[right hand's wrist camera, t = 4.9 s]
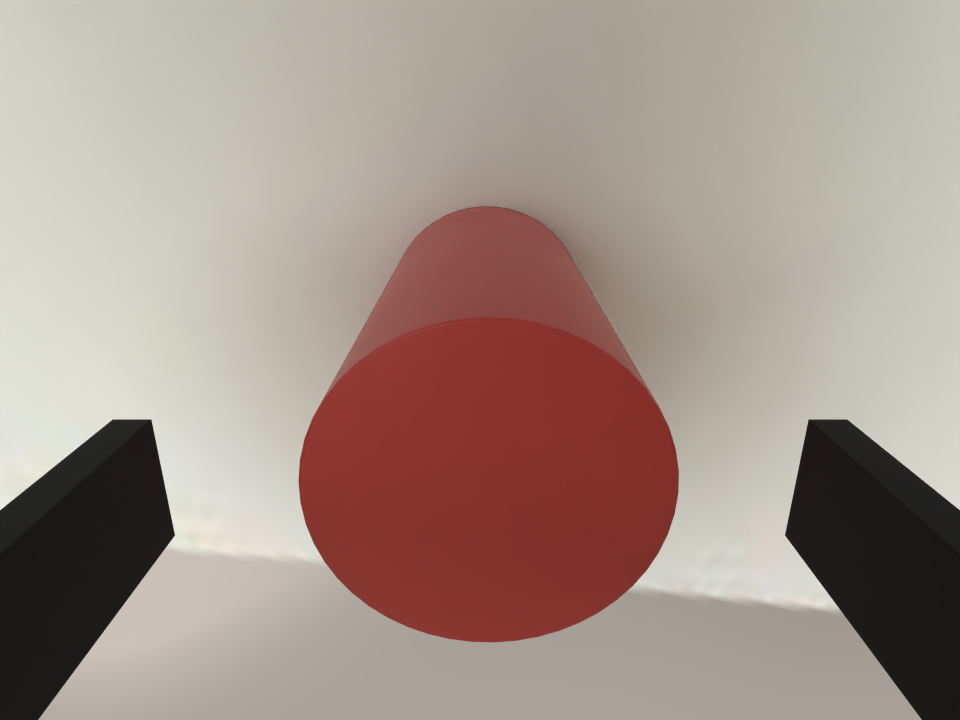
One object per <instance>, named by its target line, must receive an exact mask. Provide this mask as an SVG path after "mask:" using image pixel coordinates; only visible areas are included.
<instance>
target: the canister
mask: <svg viewBox="0 0 960 720" xmlns="http://www.w3.org/2000/svg"><path fill="white" fill-rule="evenodd" d="M678 478H679V470H678V463H677V456H676V449H675V445H674V442H673V439H672V436H671V432H670V429H669V426H668V424H667V422H666V420H665V418H664V416H663V414H662V412H661V410H660V408H659V406H658V404H657V403H656V401H655V399H654V397H653V396H652V394H651V392H650V391H649V389H648V387H647V386H646V384H645V382H644V380H643V379H642V377H641V375H640V374H639V372H638V370H637V369H636V367H635V365H634V363H633V362H632V360H631V358H630V357H629V355H628V353H627V351H626V350H625V348H624V346H623V345H622V343H621V341H620V340H619V338H618V336H617V334H616V333H615V331H614V329H613V328H612V326H611V324H610V323H609V321H608V319H607V317H606V316H605V314H604V312H603V311H602V309H601V307H600V306H599V304H598V302H597V300H596V299H595V297H594V295H593V294H592V292H591V290H590V289H589V287H588V285H587V283H586V282H585V280H584V278H583V277H582V275H581V273H580V272H579V270H578V268H577V266H576V265H575V263H574V261H573V260H572V258H571V256H570V254H569V253H568V251H567V250H566V248H565V247H564V245H563V244H562V242H561V241H560V240H559V239H558V238H557V237H556V236H555V235H554V234H553V233H552V232H551V231H550V230H549V229H548V228H546V227H545V226H544V225H543V224H541V223H540V222H538V221H536V220H535V219H533V218H531V217H529V216H527V215H525V214H523V213H520V212H517V211H514V210H510V209H505V208H499V207H474V208H468V209H464V210H460V211H456V212H454V213H451V214H449V215H446V216H444V217H442V218H441V219H439V220H437V221H435V222H434V223H432V224H431V225H430V226H428V227H427V228H426V229H424V230H423V231H422V232H421V233H420V234H419V235H418V236H417V237H416V238H415V239H414V241H413V242H412V243H411V245H410V246H409V247H408V249H407V250H406V252H405V254H404V256H403V257H402V259H401V261H400V263H399V264H398V266H397V268H396V270H395V272H394V273H393V275H392V277H391V279H390V281H389V282H388V284H387V286H386V288H385V289H384V291H383V293H382V295H381V297H380V298H379V300H378V302H377V304H376V306H375V307H374V309H373V311H372V313H371V315H370V316H369V318H368V320H367V322H366V323H365V325H364V327H363V329H362V331H361V332H360V334H359V336H358V338H357V340H356V341H355V343H354V345H353V347H352V349H351V350H350V352H349V354H348V356H347V357H346V359H345V361H344V363H343V365H342V366H341V368H340V370H339V372H338V374H337V375H336V377H335V379H334V381H333V383H332V384H331V386H330V388H329V390H328V391H327V393H326V395H325V397H324V399H323V400H322V402H321V404H320V406H319V408H318V409H317V411H316V413H315V415H314V417H313V419H312V421H311V424H310V426H309V429H308V431H307V434H306V437H305V440H304V444H303V449H302V453H301V458H300V468H299V490H300V501H301V506H302V510H303V514H304V518H305V522H306V525H307V528H308V530H309V533H310V535H311V538H312V540H313V542H314V544H315V546H316V548H317V550H318V551H319V553H320V555H321V556H322V558H323V560H324V562H325V563H326V564H327V565H328V567H329V568H330V569H331V571H332V572H333V573H334V574H335V576H336V577H337V578H338V579H339V580H340V581H341V582H342V583H343V584H344V585H345V586H346V587H347V588H348V589H349V590H350V591H351V592H352V593H353V594H354V595H356V596H357V597H358V598H359V599H361V600H362V601H363V602H364V603H366V604H367V605H368V606H370V607H371V608H373V609H375V610H376V611H378V612H380V613H381V614H383V615H385V616H386V617H388V618H390V619H392V620H394V621H396V622H398V623H401V624H403V625H405V626H407V627H410V628H413V629H415V630H418V631H421V632H424V633H427V634H431V635H435V636H440V637H444V638H448V639H455V640H463V641H470V642H504V641H516V640H522V639H528V638H534V637H539V636H542V635H546V634H549V633H553V632H556V631H560V630H562V629H565V628H567V627H570V626H572V625H575V624H577V623H580V622H581V621H583V620H585V619H587V618H589V617H591V616H593V615H595V614H597V613H598V612H600V611H601V610H603V609H604V608H606V607H607V606H609V605H610V604H612V603H613V602H614V601H616V600H617V599H618V598H620V597H621V596H622V595H623V594H624V593H625V592H626V591H627V590H629V589H630V588H631V587H632V586H633V585H634V584H635V583H636V582H637V581H638V579H639V578H640V577H641V576H642V575H643V574H644V573H645V571H646V570H647V569H648V568H649V566H650V565H651V563H652V562H653V560H654V559H655V557H656V556H657V554H658V553H659V551H660V549H661V547H662V545H663V543H664V541H665V539H666V537H667V535H668V532H669V529H670V526H671V523H672V520H673V517H674V514H675V508H676V502H677V496H678Z"/></svg>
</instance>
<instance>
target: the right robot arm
mask: <svg viewBox="0 0 960 720" xmlns="http://www.w3.org/2000/svg"><path fill="white" fill-rule="evenodd" d="M174 536H175V534H174V529H173V524H172V519H171V514H170V509H169V504H168V499H167V494H166V490H165V485H164V480H163V475H162V470H161V465H160V460H159V455H158V450H157V445H156V440H155V435H154V431H153V426H152V421H151V420H112V421H111V422H109V423H108V424H107V425H106V426H104V427H103V428H102V429H101V430H99V431H98V432H97V433H96V434H94V435H93V436H92V437H91V438H89V439H88V440H87V441H86V442H85V443H83V444H82V445H81V446H80V447H78V448H77V449H76V450H75V451H73V452H72V453H71V454H70V455H68V456H67V457H66V458H65V459H63V460H62V461H61V462H60V463H58V464H57V465H56V466H55V467H53V468H52V469H51V470H50V471H48V472H47V473H46V474H45V475H44V476H42V477H41V478H40V479H39V480H37V481H36V482H35V483H34V484H32V485H31V486H30V487H29V488H27V489H26V490H25V491H24V492H22V493H21V494H20V495H19V496H17V497H16V498H15V499H14V500H12V501H11V502H10V503H9V504H7V505H6V506H5V507H4V508H3V509H1V510H0V720H38V719H39V718H40V716H41V715H42V714H43V712H44V711H45V710H46V708H47V707H48V706H49V704H50V703H51V702H52V700H53V699H54V698H55V696H56V695H57V693H58V692H59V691H60V689H61V688H62V687H63V685H64V684H65V683H66V681H67V680H68V679H69V677H70V676H71V675H72V673H73V672H74V671H75V669H76V668H77V667H78V665H79V664H80V662H81V661H82V660H83V658H84V657H85V656H86V654H87V653H88V652H89V650H90V649H91V648H92V646H93V645H94V644H95V642H96V641H97V640H98V638H99V637H100V636H101V634H102V633H103V632H104V630H105V629H106V627H107V626H108V625H109V623H110V622H111V621H112V619H113V618H114V617H115V615H116V614H117V613H118V611H119V610H120V609H121V607H122V606H123V605H124V603H125V602H126V601H127V599H128V598H129V596H130V595H131V594H132V592H133V591H134V590H135V588H136V587H137V586H138V584H139V583H140V582H141V580H142V579H143V578H144V576H145V575H146V574H147V572H148V571H149V570H150V568H151V567H152V565H153V564H154V563H155V561H156V560H157V559H158V557H159V556H160V555H161V553H162V552H163V551H164V549H165V548H166V547H167V545H168V544H169V543H170V541H171V540H172V539H173V537H174ZM785 536H786V537H787V539H788V540H789V541H790V543H791V544H792V545H793V547H794V548H795V549H796V551H797V552H798V553H799V555H800V556H801V557H802V559H803V560H804V561H805V563H806V564H807V565H808V567H809V568H810V570H811V571H812V572H813V574H814V575H815V576H816V578H817V579H818V580H819V582H820V583H821V584H822V586H823V587H824V588H825V590H826V591H827V592H828V594H829V595H830V596H831V598H832V599H833V601H834V602H835V603H836V605H837V606H838V607H839V609H840V610H841V611H842V613H843V614H844V615H845V617H846V618H847V619H848V621H849V622H850V623H851V625H852V626H853V627H854V629H855V630H856V631H857V633H858V634H859V636H860V637H861V638H862V640H863V641H864V642H865V644H866V645H867V646H868V648H869V649H870V650H871V652H872V653H873V654H874V656H875V657H876V658H877V660H878V661H879V663H880V664H881V665H882V667H883V668H884V669H885V671H886V672H887V673H888V675H889V676H890V677H891V679H892V680H893V681H894V683H895V684H896V685H897V687H898V688H899V689H900V691H901V692H902V694H903V695H904V696H905V698H906V699H907V700H908V702H909V703H910V704H911V706H912V707H913V708H914V710H915V711H916V712H917V714H918V715H919V716H920V718H921V719H922V720H960V510H959V509H957V508H956V507H955V506H954V505H952V504H951V503H950V502H949V501H948V500H946V499H945V498H944V497H943V496H941V495H940V494H939V493H938V492H936V491H935V490H934V489H933V488H931V487H930V486H929V485H928V484H926V483H925V482H924V481H923V480H921V479H920V478H919V477H918V476H916V475H915V474H914V473H913V472H912V471H910V470H909V469H908V468H907V467H905V466H904V465H903V464H902V463H900V462H899V461H898V460H897V459H895V458H894V457H893V456H892V455H890V454H889V453H888V452H887V451H885V450H884V449H883V448H882V447H880V446H879V445H878V444H877V443H875V442H874V441H873V440H872V439H871V438H869V437H868V436H867V435H866V434H864V433H863V432H862V431H861V430H859V429H858V428H857V427H856V426H854V425H853V424H852V423H851V422H849V421H848V420H809V421H808V426H807V431H806V435H805V440H804V445H803V450H802V455H801V460H800V465H799V470H798V475H797V480H796V485H795V489H794V494H793V499H792V504H791V509H790V514H789V519H788V524H787V529H786V534H785Z"/></svg>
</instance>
